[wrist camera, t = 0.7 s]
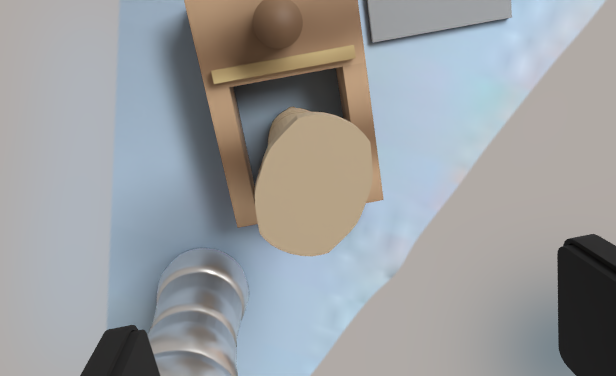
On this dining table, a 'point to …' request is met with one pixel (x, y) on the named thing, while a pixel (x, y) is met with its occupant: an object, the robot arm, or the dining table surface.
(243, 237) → the dining table surface
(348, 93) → the body
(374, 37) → the mat
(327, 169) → the handle
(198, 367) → the plastic bottle
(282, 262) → the dining table surface
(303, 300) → the dining table surface
